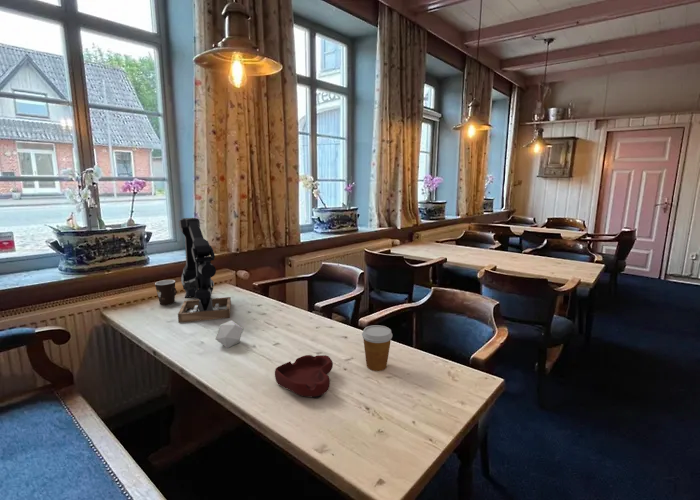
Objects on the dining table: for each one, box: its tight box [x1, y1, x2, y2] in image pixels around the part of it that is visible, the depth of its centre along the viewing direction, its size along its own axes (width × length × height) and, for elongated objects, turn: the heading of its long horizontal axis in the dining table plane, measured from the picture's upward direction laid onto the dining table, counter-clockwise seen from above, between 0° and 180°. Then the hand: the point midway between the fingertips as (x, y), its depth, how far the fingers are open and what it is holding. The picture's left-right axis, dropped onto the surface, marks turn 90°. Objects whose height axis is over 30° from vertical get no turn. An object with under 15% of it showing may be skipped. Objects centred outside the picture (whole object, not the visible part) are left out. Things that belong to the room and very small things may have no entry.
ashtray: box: [274, 354, 334, 399], centre depth 109 cm, size 18×16×5 cm
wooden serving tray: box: [177, 296, 232, 323], centre depth 166 cm, size 18×20×4 cm
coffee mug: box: [154, 279, 178, 306], centre depth 177 cm, size 12×9×10 cm
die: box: [215, 319, 244, 349], centre depth 134 cm, size 8×9×10 cm
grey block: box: [198, 297, 214, 312], centre depth 166 cm, size 5×5×7 cm
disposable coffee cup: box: [361, 324, 393, 372], centre depth 118 cm, size 10×10×12 cm
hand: (206, 307), depth 166 cm, fingers open, 7 cm apart
